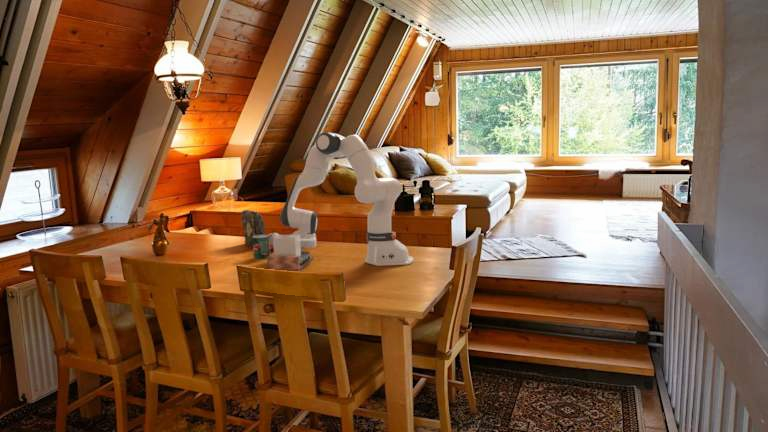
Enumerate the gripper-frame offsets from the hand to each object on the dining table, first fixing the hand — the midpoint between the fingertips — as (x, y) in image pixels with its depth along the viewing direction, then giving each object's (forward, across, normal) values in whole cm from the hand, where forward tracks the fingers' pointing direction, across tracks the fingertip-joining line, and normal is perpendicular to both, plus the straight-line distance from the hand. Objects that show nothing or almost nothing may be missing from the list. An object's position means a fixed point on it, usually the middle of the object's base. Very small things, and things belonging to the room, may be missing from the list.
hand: (290, 246), depth 267 cm
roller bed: (0, 0, +10) cm, 10 cm away
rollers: (-2, 0, +8) cm, 8 cm away
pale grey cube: (+4, 0, +5) cm, 6 cm away
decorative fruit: (-36, -20, +10) cm, 42 cm away
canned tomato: (-17, -20, +10) cm, 28 cm away
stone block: (-46, -35, +10) cm, 59 cm away
